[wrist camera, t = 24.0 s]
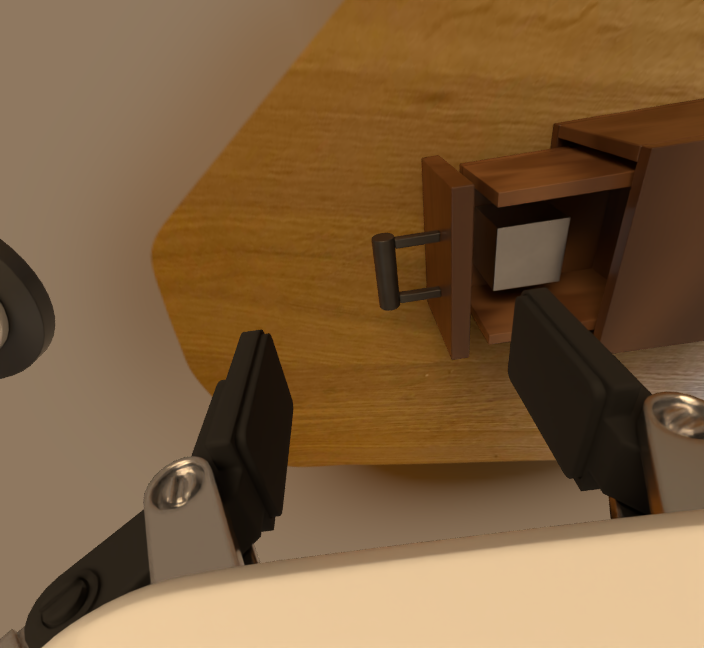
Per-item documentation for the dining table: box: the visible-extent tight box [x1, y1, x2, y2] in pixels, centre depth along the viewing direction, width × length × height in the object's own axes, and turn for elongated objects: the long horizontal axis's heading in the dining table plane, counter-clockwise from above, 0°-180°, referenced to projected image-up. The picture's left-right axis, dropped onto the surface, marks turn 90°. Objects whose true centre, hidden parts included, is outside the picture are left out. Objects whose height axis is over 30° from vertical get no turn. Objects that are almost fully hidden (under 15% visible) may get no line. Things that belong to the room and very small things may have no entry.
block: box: [473, 200, 571, 291], centre depth 26 cm, size 4×4×4 cm
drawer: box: [372, 144, 637, 360], centre depth 26 cm, size 18×11×8 cm, turn 98°
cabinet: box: [551, 99, 704, 354], centre depth 25 cm, size 15×13×10 cm
